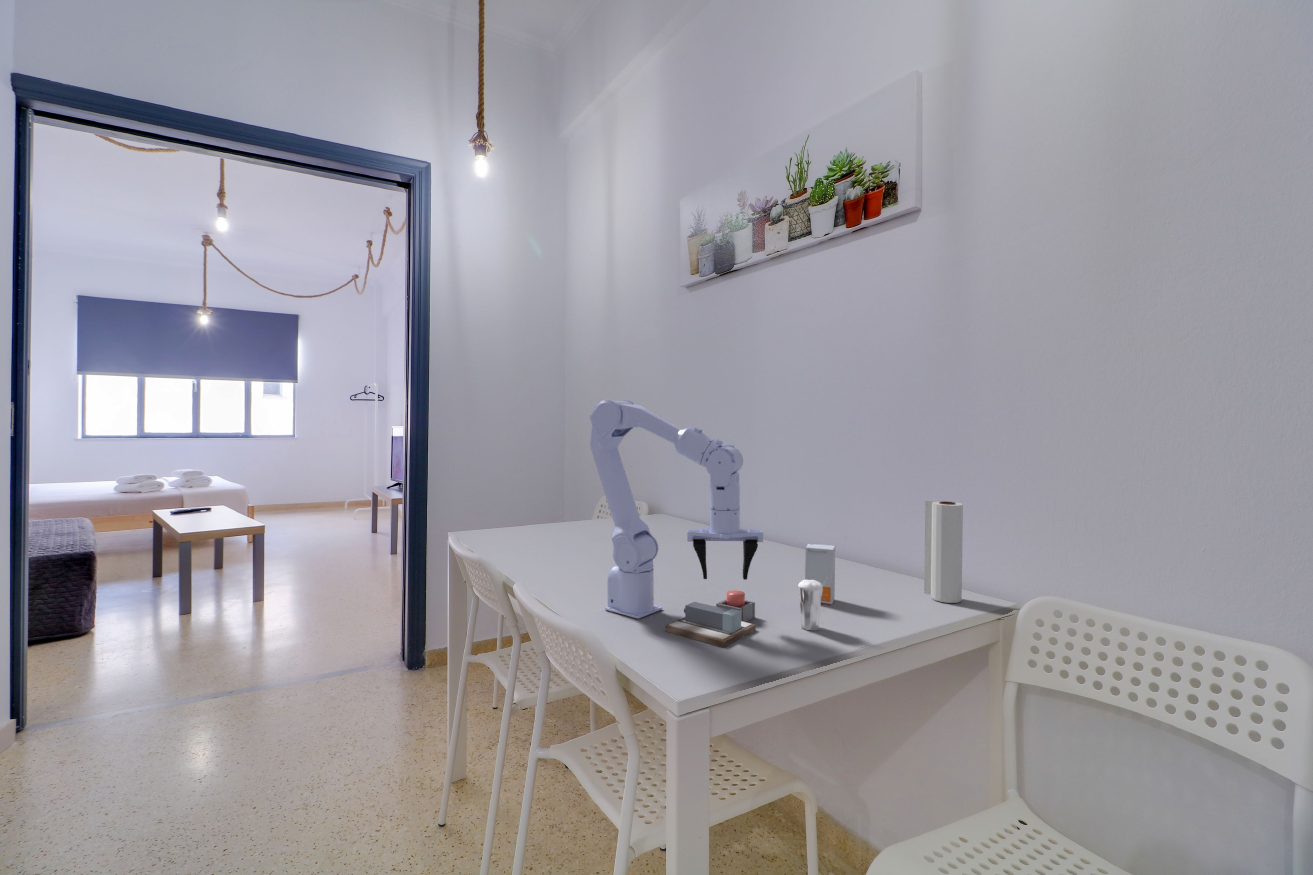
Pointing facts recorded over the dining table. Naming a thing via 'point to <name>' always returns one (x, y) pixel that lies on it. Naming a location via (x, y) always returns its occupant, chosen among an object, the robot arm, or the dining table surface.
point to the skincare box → (821, 569)
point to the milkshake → (810, 603)
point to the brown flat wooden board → (708, 632)
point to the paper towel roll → (943, 550)
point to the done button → (736, 598)
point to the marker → (713, 616)
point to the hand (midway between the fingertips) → (725, 577)
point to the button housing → (741, 609)
